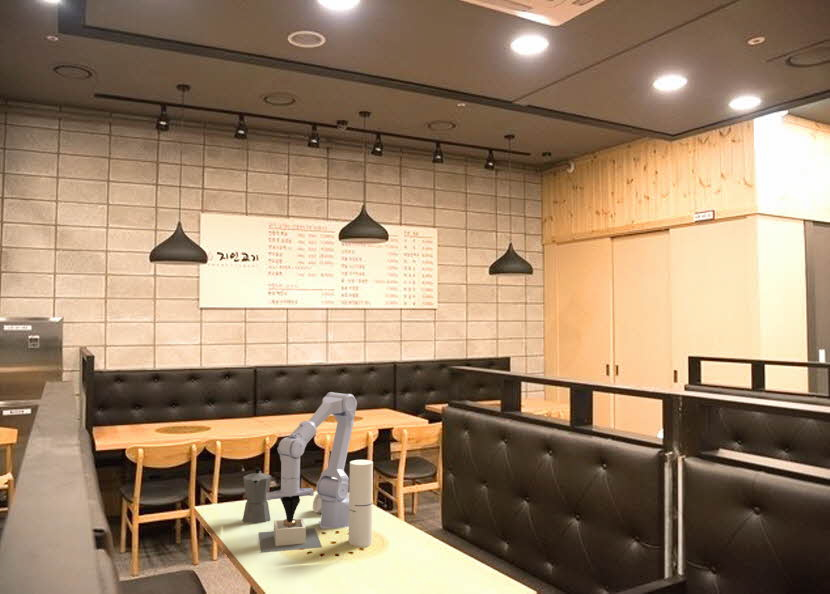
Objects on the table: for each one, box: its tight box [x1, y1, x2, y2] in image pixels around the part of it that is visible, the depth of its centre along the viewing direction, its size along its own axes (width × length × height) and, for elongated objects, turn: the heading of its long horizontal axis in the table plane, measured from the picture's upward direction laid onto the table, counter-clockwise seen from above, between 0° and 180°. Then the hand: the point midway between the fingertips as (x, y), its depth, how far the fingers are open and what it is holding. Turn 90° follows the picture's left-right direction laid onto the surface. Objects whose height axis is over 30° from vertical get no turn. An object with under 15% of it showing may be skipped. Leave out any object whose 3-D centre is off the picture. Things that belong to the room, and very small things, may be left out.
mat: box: [258, 527, 323, 554], centre depth 201 cm, size 18×18×1 cm
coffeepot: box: [242, 467, 272, 524], centre depth 222 cm, size 15×9×18 cm, turn 8°
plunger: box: [283, 518, 296, 528], centre depth 201 cm, size 6×6×5 cm
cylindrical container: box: [348, 459, 374, 548], centre depth 200 cm, size 7×7×25 cm
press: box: [273, 518, 307, 546], centre depth 201 cm, size 9×9×5 cm
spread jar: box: [312, 477, 350, 514], centre depth 233 cm, size 12×11×12 cm
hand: (289, 520), depth 201 cm, fingers closed, pressing on plunger
